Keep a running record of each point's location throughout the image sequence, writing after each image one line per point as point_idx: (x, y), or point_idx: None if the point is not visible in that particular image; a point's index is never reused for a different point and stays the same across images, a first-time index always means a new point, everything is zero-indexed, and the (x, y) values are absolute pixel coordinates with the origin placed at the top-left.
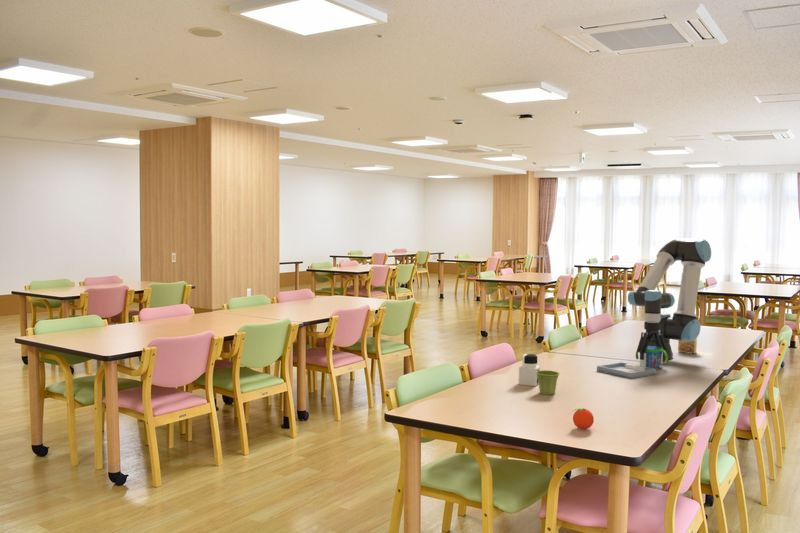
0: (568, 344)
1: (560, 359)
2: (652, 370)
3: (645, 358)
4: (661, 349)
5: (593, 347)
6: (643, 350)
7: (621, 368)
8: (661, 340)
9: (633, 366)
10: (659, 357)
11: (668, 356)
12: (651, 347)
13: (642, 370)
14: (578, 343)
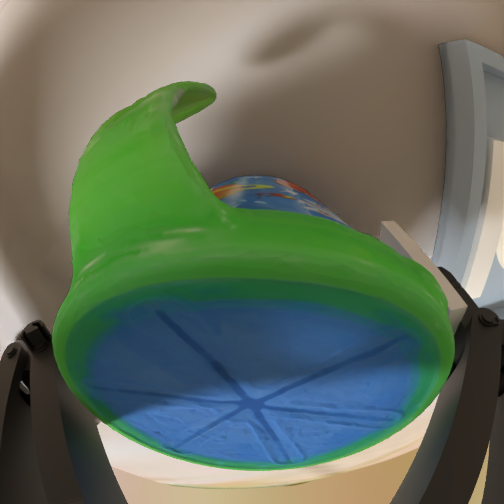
0: (221, 487)
1: (410, 437)
2: (494, 54)
3: (424, 265)
4: (157, 245)
5: (187, 474)
6: (497, 342)
7: (489, 277)
8: (16, 458)
9: (499, 229)
10: (229, 197)
11: (25, 349)
12: (182, 436)
13: (499, 139)
14: (193, 483)
